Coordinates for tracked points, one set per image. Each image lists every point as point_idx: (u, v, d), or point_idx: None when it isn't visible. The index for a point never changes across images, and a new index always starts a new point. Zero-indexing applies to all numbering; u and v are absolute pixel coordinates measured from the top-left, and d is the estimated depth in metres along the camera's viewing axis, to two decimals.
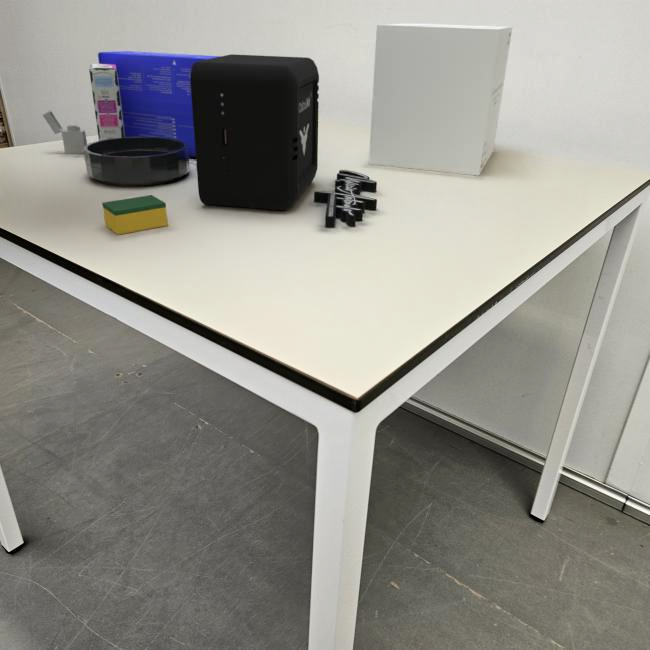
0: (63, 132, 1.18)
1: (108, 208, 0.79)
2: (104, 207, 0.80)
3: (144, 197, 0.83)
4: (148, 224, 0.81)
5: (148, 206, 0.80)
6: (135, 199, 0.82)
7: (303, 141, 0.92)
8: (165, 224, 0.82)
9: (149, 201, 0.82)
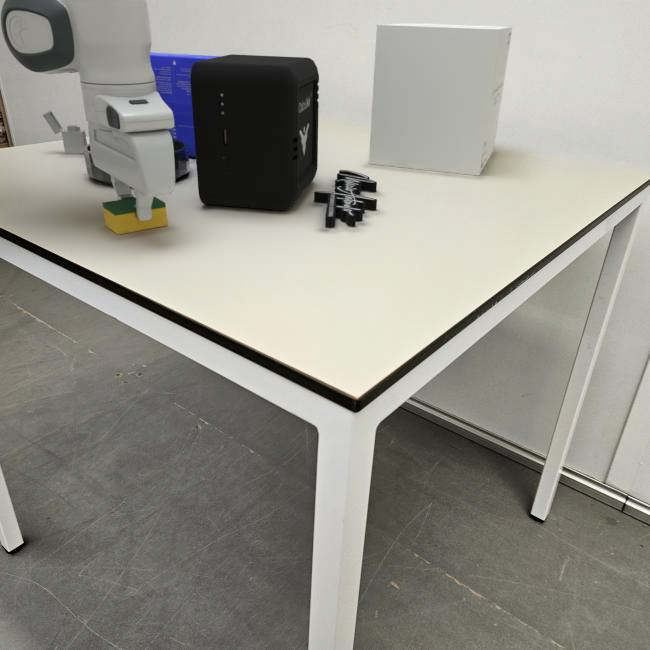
0: (63, 132, 1.18)
1: (108, 208, 0.79)
2: (104, 207, 0.80)
3: None
4: (148, 224, 0.81)
5: None
6: (135, 199, 0.82)
7: (303, 141, 0.92)
8: (165, 224, 0.82)
9: None
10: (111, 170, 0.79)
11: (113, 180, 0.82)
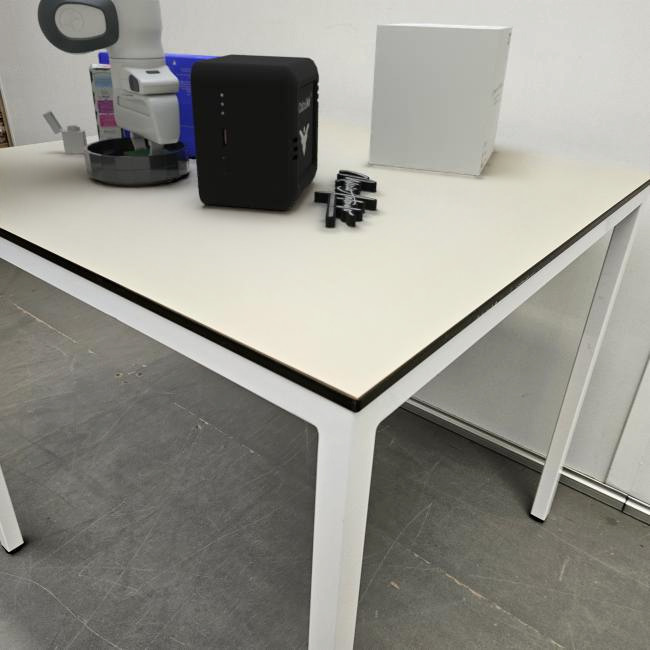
0: (63, 132, 1.18)
1: (128, 155, 1.03)
2: (125, 155, 1.04)
3: None
4: None
5: None
6: (149, 150, 1.06)
7: (303, 141, 0.92)
8: None
9: None
10: (131, 127, 1.03)
11: (132, 136, 1.06)
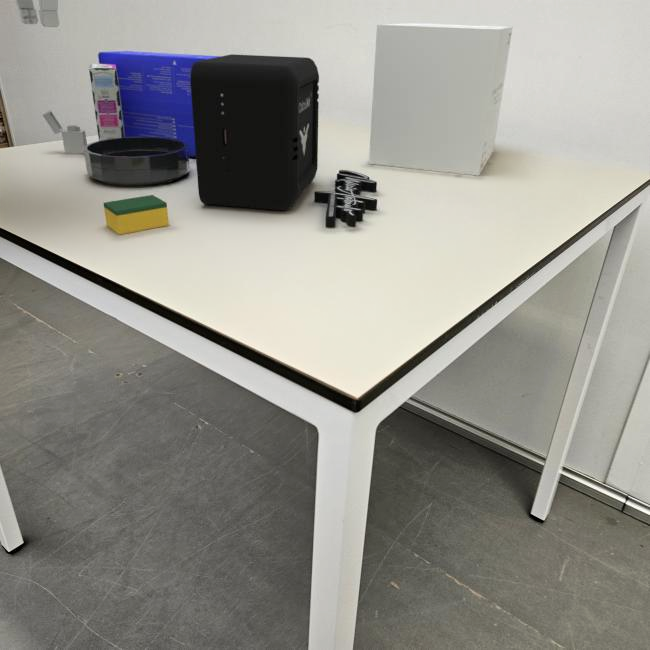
0: (63, 132, 1.18)
1: (109, 208, 0.79)
2: (105, 207, 0.80)
3: (145, 197, 0.83)
4: (149, 224, 0.81)
5: (150, 206, 0.80)
6: (136, 199, 0.82)
7: (303, 141, 0.92)
8: (166, 224, 0.83)
9: (150, 201, 0.82)
10: None
11: None
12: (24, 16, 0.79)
